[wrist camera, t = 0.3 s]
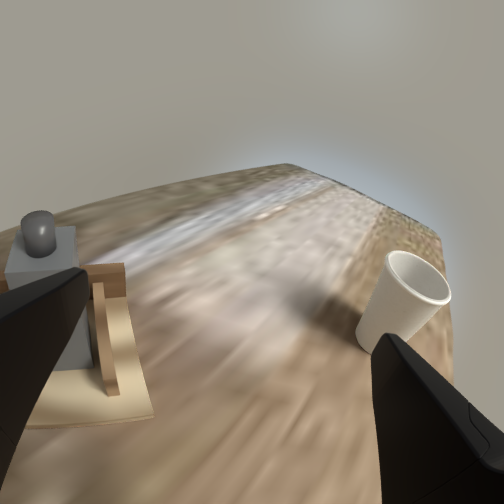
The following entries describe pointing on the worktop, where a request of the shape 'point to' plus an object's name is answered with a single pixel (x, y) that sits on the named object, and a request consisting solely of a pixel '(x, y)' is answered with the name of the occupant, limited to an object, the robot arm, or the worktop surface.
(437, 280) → the dixie cup
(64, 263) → the grey knobbed block
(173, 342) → the worktop surface
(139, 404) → the wooden dish rack
